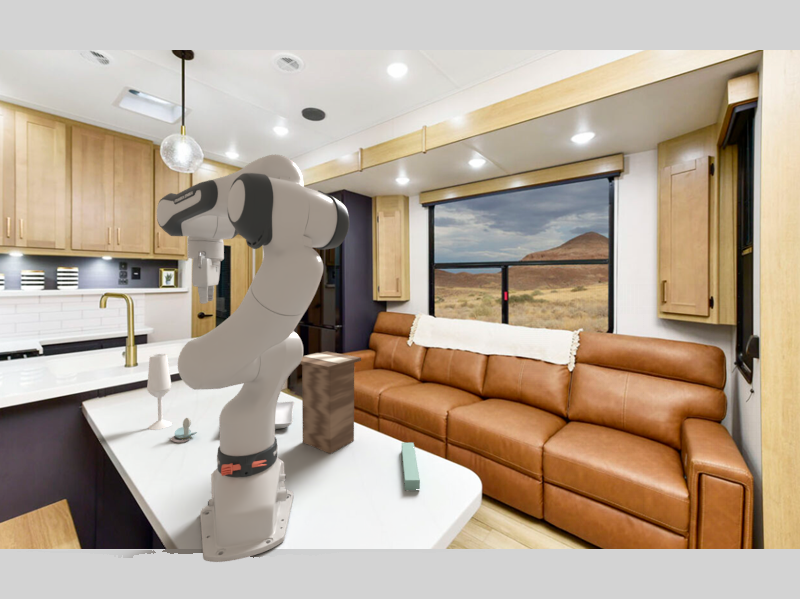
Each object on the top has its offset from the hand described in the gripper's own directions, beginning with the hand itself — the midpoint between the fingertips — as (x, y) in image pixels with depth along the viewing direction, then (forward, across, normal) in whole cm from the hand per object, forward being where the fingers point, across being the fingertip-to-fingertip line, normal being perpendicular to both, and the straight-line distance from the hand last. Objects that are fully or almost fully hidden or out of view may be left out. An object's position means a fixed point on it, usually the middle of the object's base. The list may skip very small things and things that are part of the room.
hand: (206, 302), depth 98 cm
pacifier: (+44, +12, +9) cm, 46 cm away
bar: (+43, -28, -51) cm, 73 cm away
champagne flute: (+44, +25, +18) cm, 53 cm away
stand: (+43, -5, -33) cm, 55 cm away
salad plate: (+44, +18, -14) cm, 49 cm away
